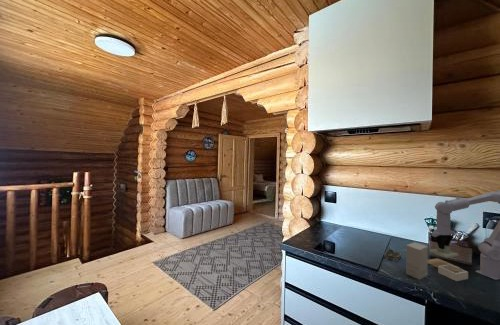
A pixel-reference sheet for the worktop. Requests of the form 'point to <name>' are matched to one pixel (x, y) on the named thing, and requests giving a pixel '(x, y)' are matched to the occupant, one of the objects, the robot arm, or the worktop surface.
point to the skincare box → (416, 260)
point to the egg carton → (392, 255)
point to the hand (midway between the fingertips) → (443, 248)
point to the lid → (444, 252)
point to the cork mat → (439, 262)
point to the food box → (455, 276)
